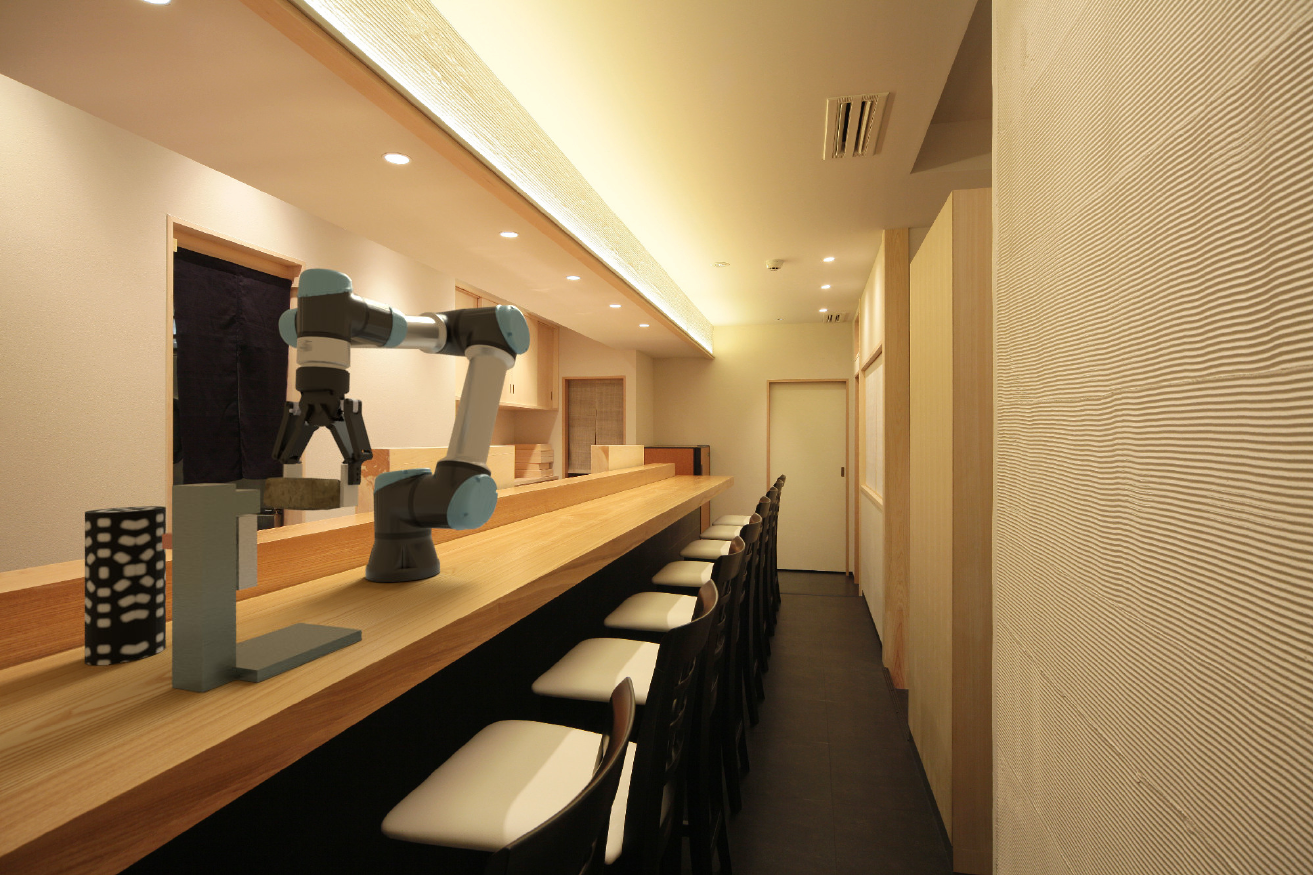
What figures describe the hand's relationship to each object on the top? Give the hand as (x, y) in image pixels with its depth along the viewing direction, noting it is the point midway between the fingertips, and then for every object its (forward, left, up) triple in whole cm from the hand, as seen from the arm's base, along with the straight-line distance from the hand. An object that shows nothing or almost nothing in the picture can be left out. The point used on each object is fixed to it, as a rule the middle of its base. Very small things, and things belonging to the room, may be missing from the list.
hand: (319, 505), depth 92 cm
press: (+13, +5, -19) cm, 24 cm away
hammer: (+17, 0, -9) cm, 19 cm away
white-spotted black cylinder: (+17, -16, -19) cm, 30 cm away
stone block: (+3, 0, 0) cm, 3 cm away
